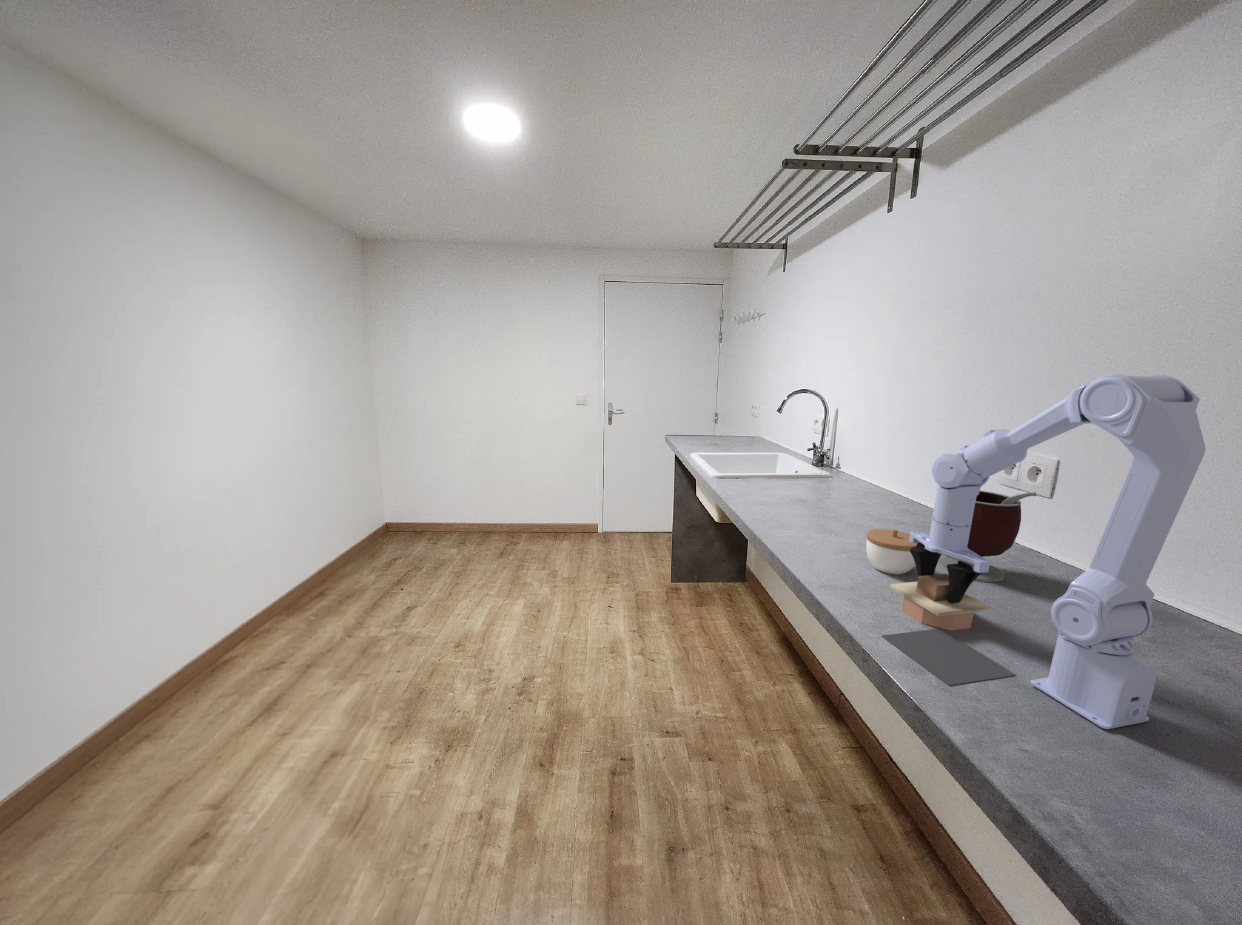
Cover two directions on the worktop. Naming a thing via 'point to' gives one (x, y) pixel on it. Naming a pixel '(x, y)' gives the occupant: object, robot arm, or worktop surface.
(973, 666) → the mat
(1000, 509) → the mate gourd
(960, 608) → the cover
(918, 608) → the bowl
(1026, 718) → the worktop surface
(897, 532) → the lidded jar
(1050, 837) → the worktop surface
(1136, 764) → the worktop surface
